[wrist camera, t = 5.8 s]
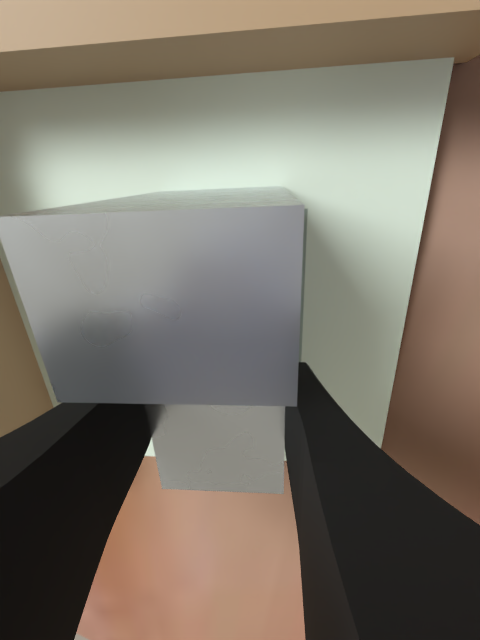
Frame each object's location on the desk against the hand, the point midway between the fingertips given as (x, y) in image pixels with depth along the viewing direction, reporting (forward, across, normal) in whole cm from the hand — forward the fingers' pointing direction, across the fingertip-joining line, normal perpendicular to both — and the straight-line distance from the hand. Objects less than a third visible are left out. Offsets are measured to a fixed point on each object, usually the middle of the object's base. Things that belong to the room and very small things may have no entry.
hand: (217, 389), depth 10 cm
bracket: (+3, 0, -2) cm, 4 cm away
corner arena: (+4, +1, -1) cm, 4 cm away
